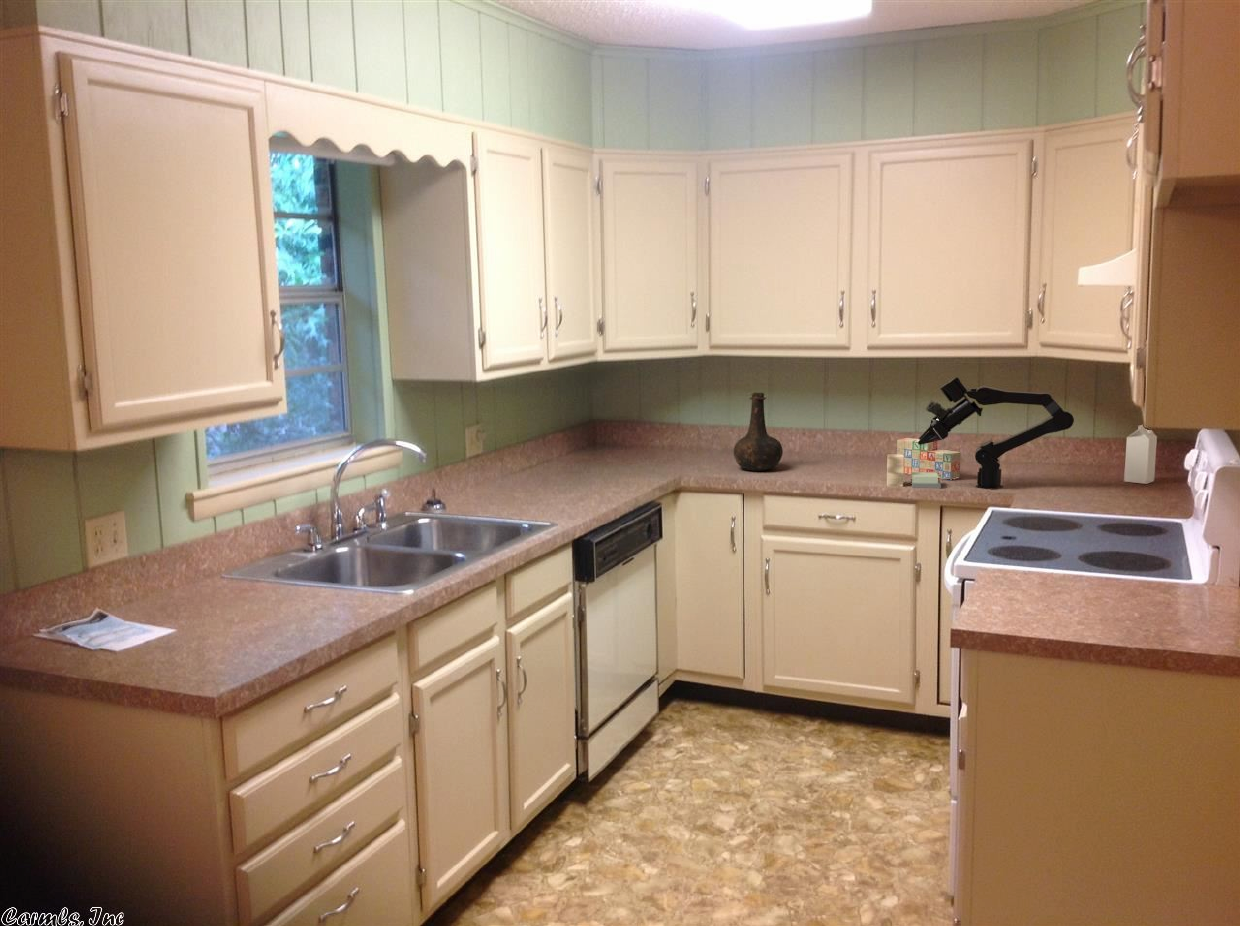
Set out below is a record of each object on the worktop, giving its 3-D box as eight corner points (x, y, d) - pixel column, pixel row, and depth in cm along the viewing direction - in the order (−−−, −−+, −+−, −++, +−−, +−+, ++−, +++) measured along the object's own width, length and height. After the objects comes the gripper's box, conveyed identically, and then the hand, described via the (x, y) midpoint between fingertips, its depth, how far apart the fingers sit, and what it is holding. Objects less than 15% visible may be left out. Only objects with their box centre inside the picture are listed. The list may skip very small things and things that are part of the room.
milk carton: (1123, 481, 357) (1127, 425, 354) (1131, 478, 362) (1135, 422, 359) (1146, 484, 352) (1150, 426, 349) (1154, 481, 357) (1157, 424, 354)
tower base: (938, 485, 360) (938, 479, 360) (940, 490, 352) (940, 484, 351) (910, 484, 362) (911, 478, 362) (912, 490, 354) (912, 483, 353)
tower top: (936, 479, 360) (937, 472, 359) (937, 483, 352) (938, 476, 352) (912, 478, 362) (912, 472, 361) (912, 483, 354) (912, 476, 353)
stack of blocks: (960, 478, 369) (961, 443, 367) (950, 481, 365) (951, 445, 363) (906, 471, 385) (907, 437, 382) (896, 473, 380) (897, 439, 378)
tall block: (902, 483, 361) (903, 454, 359) (902, 486, 356) (903, 456, 354) (886, 483, 362) (887, 454, 360) (887, 486, 357) (887, 456, 355)
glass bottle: (760, 475, 381) (760, 396, 376) (723, 469, 394) (723, 393, 390) (792, 469, 392) (793, 392, 388) (755, 463, 406) (756, 389, 401)
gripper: (943, 390, 361) (905, 418, 366) (942, 396, 343) (902, 426, 349) (964, 417, 360) (925, 444, 365) (964, 424, 343) (923, 453, 348)
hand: (919, 441), depth 357 cm, fingers open, 9 cm apart
